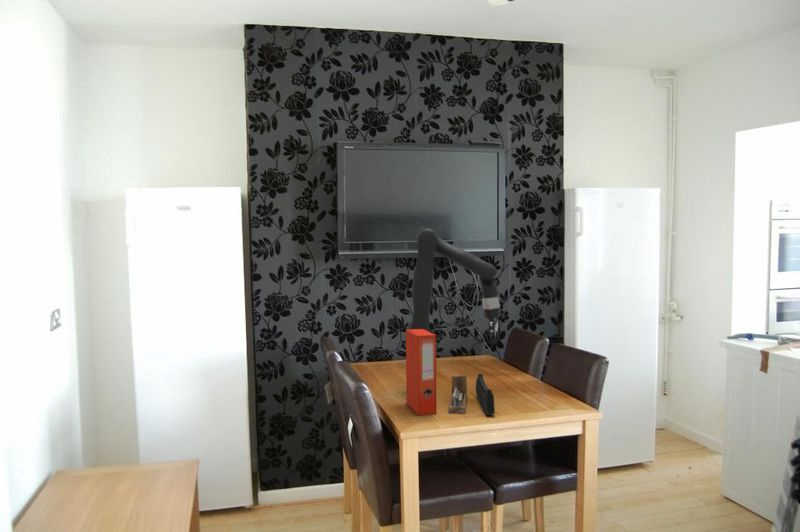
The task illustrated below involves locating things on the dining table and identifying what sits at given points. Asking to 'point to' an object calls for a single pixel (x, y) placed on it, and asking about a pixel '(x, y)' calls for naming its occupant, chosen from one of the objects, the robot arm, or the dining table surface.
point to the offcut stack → (457, 398)
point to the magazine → (484, 395)
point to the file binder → (421, 371)
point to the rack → (461, 385)
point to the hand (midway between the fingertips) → (495, 341)
